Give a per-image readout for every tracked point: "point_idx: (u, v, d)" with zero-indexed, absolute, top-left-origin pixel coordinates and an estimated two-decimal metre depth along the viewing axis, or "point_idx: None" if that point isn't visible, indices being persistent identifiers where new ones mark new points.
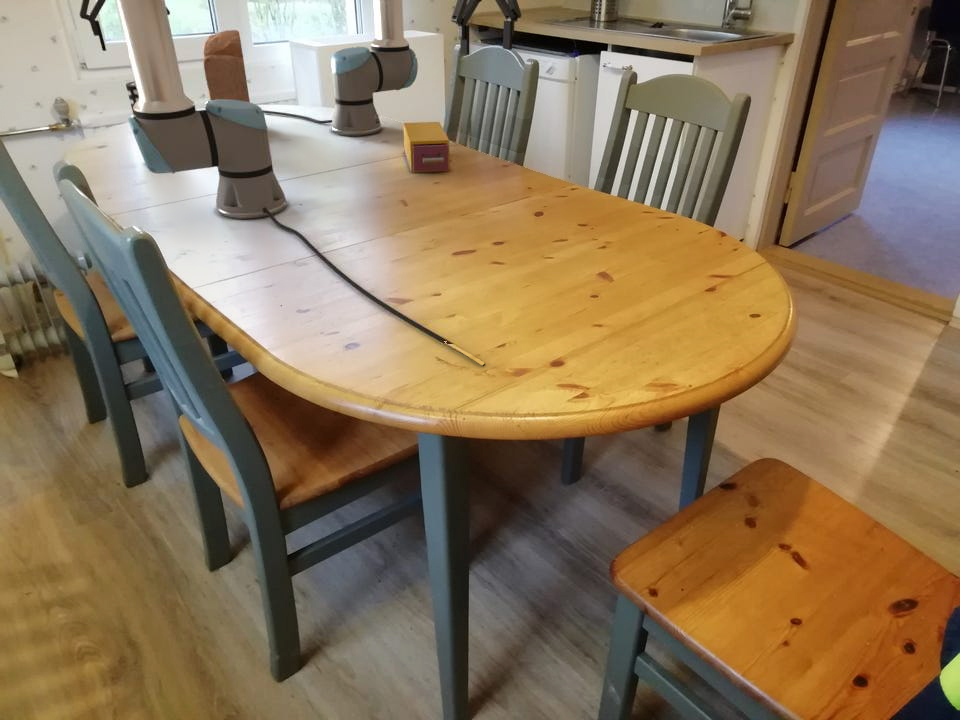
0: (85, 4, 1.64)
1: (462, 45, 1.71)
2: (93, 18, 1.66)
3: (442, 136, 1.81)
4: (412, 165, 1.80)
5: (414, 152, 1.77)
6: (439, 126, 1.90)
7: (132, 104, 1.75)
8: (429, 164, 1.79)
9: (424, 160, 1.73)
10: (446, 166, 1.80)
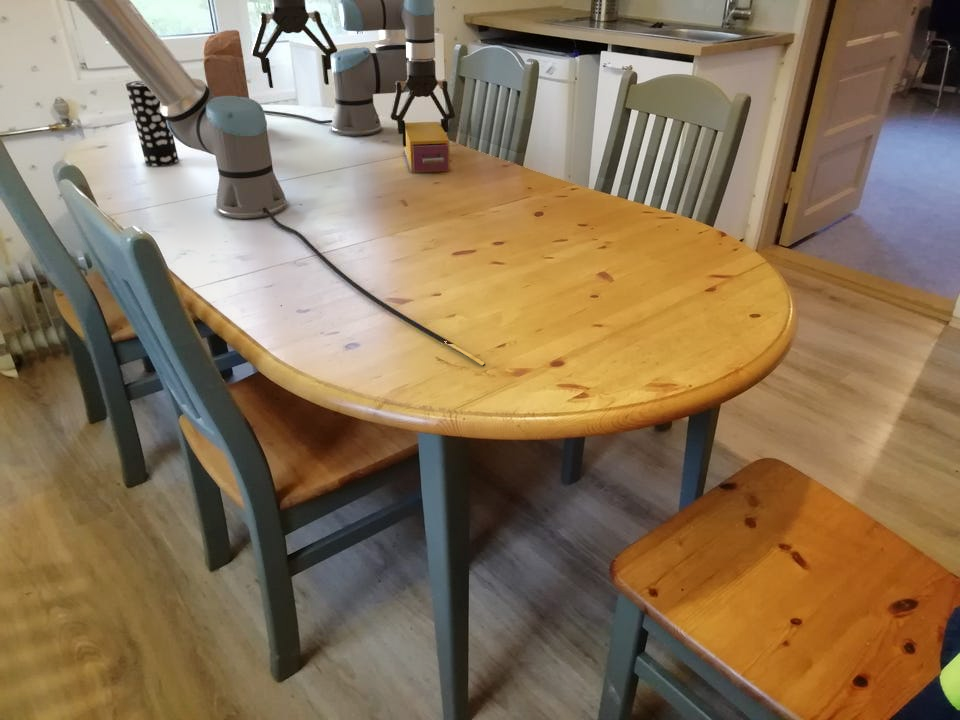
0: (257, 42, 1.63)
1: None
2: (264, 56, 1.64)
3: (442, 136, 1.81)
4: (412, 165, 1.80)
5: (414, 152, 1.77)
6: (439, 126, 1.90)
7: (132, 104, 1.75)
8: (429, 164, 1.79)
9: (424, 160, 1.73)
10: (446, 166, 1.80)
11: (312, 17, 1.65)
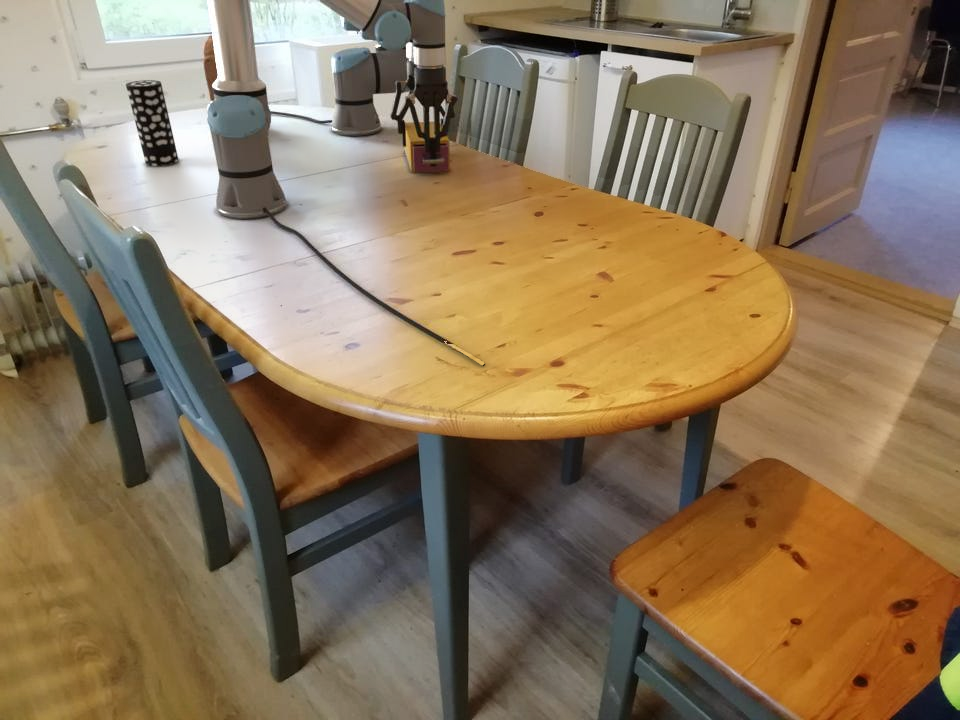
0: (417, 125, 1.69)
1: None
2: (428, 136, 1.71)
3: None
4: (412, 165, 1.80)
5: (414, 153, 1.76)
6: None
7: (132, 104, 1.75)
8: (429, 165, 1.79)
9: (424, 161, 1.72)
10: (446, 167, 1.80)
11: (449, 97, 1.67)
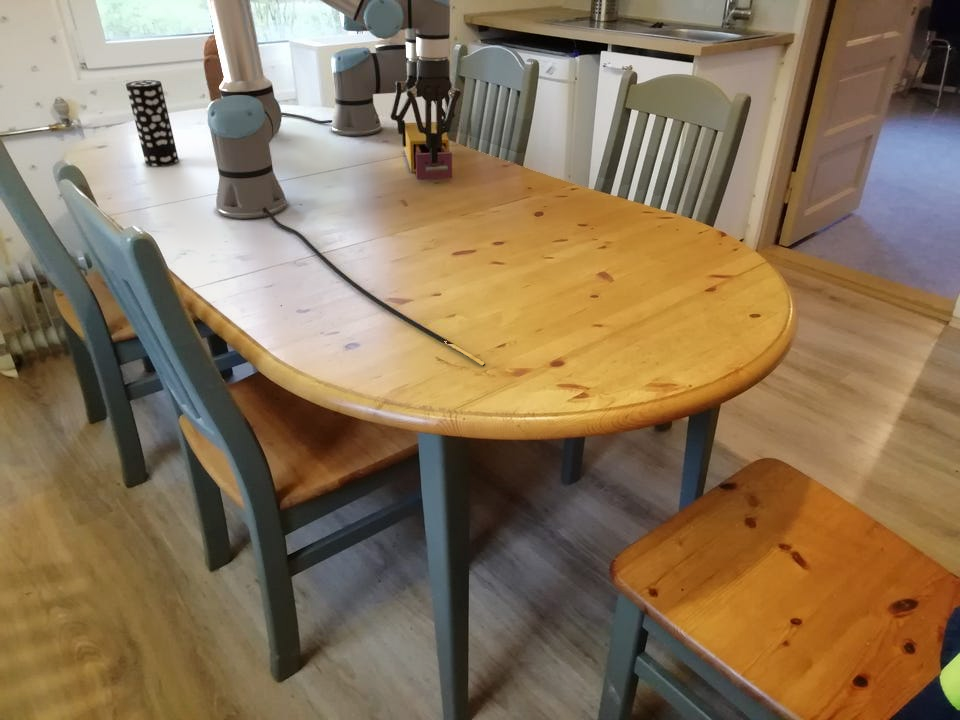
0: (418, 119, 1.62)
1: None
2: (429, 132, 1.64)
3: (442, 136, 1.81)
4: (412, 165, 1.80)
5: (417, 160, 1.71)
6: None
7: (132, 104, 1.75)
8: (432, 172, 1.73)
9: (427, 168, 1.67)
10: (450, 174, 1.74)
11: (452, 92, 1.61)
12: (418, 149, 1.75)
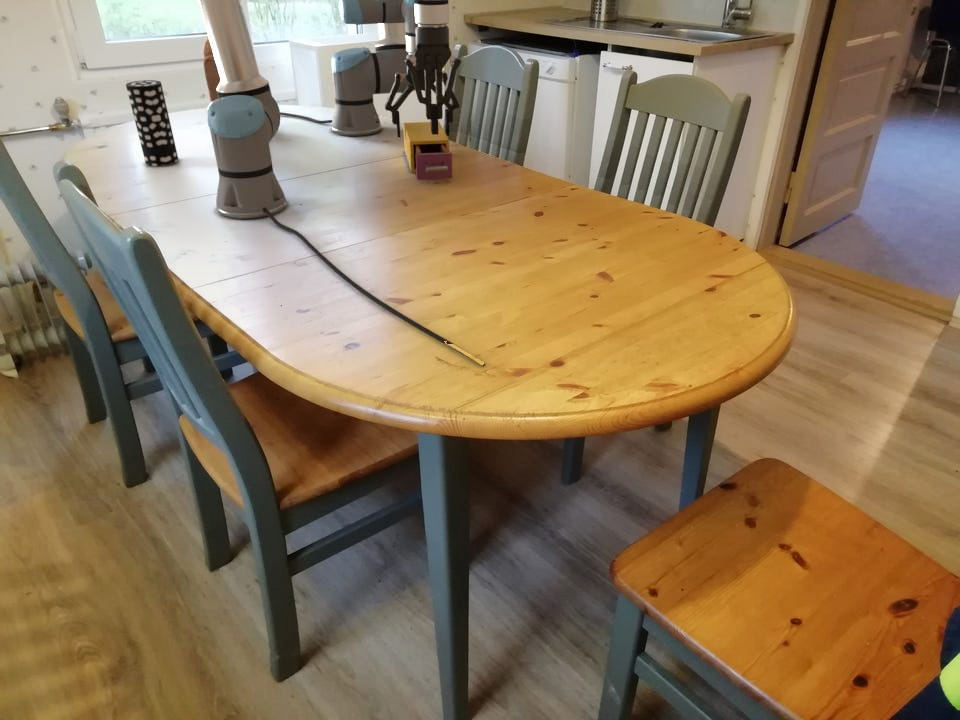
0: (417, 89, 1.59)
1: (448, 127, 1.91)
2: (430, 102, 1.61)
3: (442, 136, 1.81)
4: (412, 165, 1.80)
5: (417, 160, 1.71)
6: (439, 126, 1.90)
7: (132, 104, 1.75)
8: (432, 172, 1.73)
9: (427, 169, 1.67)
10: (450, 174, 1.74)
11: (452, 60, 1.57)
12: (418, 149, 1.75)
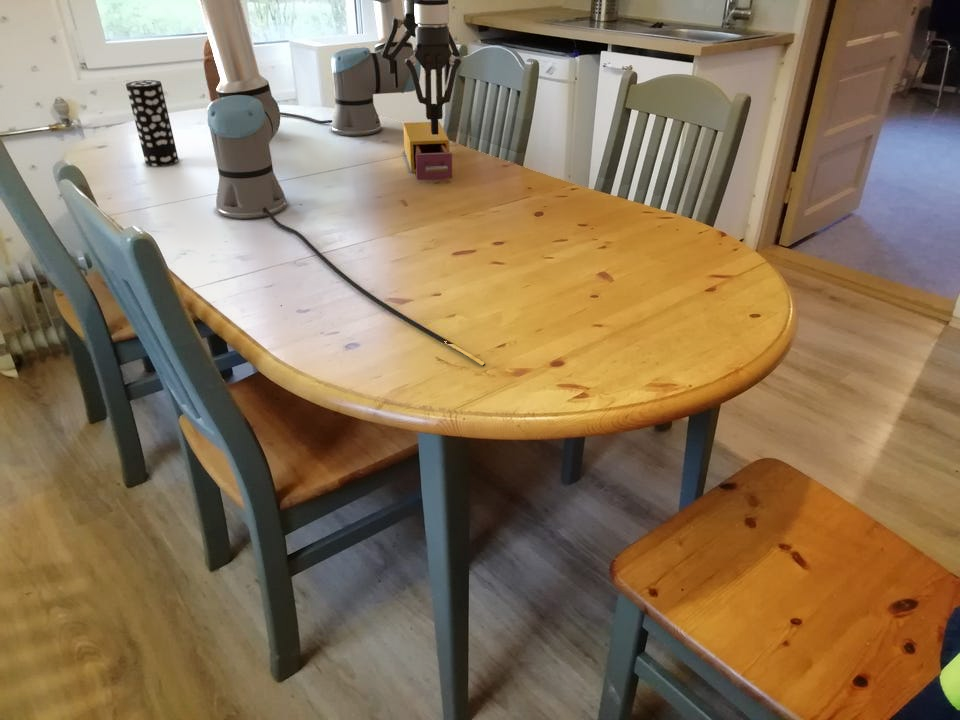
0: (417, 89, 1.59)
1: None
2: (430, 102, 1.61)
3: (442, 136, 1.81)
4: (412, 165, 1.80)
5: (417, 160, 1.71)
6: (439, 126, 1.90)
7: (132, 104, 1.75)
8: (432, 172, 1.73)
9: (427, 169, 1.67)
10: (450, 174, 1.74)
11: (452, 60, 1.57)
12: (418, 149, 1.75)
